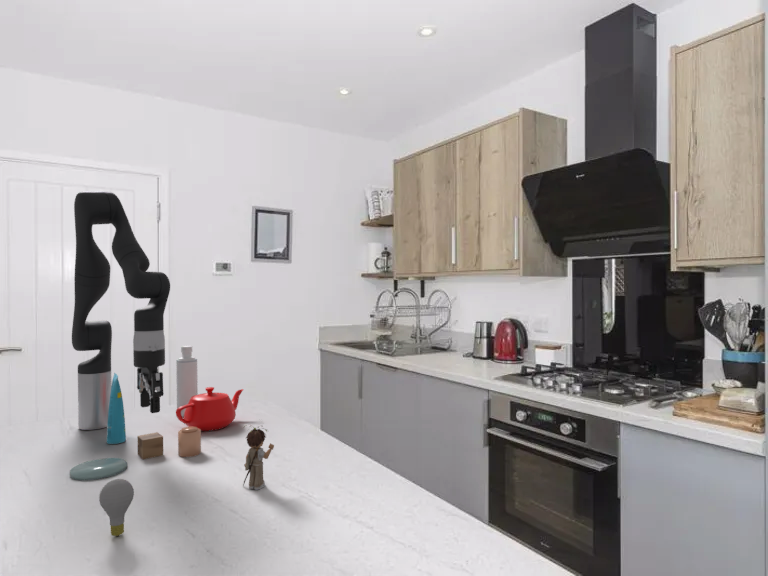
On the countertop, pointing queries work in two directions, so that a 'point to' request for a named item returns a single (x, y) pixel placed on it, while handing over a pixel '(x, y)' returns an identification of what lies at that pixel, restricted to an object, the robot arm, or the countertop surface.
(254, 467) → the toy
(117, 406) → the tube
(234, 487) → the countertop surface
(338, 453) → the countertop surface
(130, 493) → the light bulb
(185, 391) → the white bottle
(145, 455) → the block
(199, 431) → the dome-topped cylinder
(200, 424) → the teapot
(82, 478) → the dish
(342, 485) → the countertop surface
